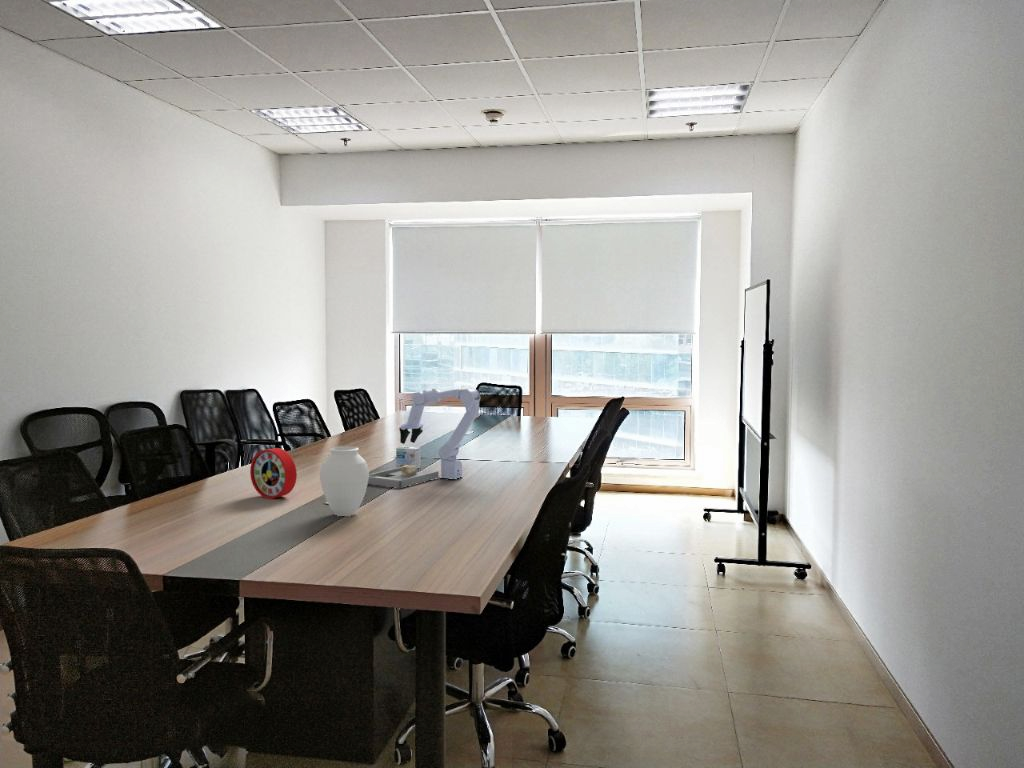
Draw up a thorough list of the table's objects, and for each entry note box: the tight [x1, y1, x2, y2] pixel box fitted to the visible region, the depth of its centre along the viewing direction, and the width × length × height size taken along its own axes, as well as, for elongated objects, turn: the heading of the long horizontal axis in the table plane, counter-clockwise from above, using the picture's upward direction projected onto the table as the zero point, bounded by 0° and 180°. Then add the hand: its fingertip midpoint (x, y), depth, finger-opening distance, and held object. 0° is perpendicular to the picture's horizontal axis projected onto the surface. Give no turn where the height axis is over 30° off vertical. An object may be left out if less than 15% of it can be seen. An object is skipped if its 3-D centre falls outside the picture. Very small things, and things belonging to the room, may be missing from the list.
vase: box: [319, 445, 370, 517], centre depth 286 cm, size 18×18×25 cm
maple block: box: [401, 465, 418, 476], centre depth 357 cm, size 5×5×4 cm
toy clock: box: [249, 447, 298, 499], centre depth 316 cm, size 20×6×20 cm, turn 62°
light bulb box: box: [395, 445, 421, 469], centre depth 385 cm, size 11×7×11 cm, turn 73°
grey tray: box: [367, 467, 439, 489], centre depth 352 cm, size 22×28×4 cm
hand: (407, 442), depth 367 cm, fingers open, 7 cm apart
